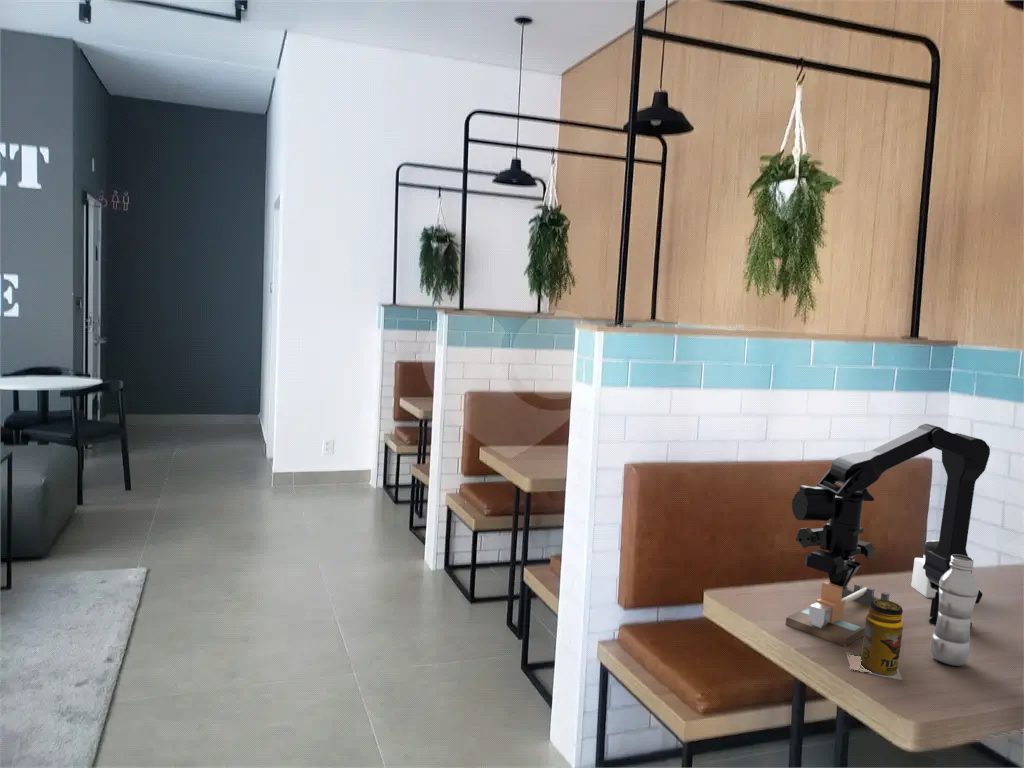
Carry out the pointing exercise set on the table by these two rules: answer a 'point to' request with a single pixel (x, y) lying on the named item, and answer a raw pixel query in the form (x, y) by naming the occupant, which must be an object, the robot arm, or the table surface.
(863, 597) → the cable comb
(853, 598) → the cord
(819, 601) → the orange stepped block
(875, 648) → the condiment
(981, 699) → the table surface
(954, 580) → the plastic bottle
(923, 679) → the table surface
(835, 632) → the cord board
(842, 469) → the robot arm
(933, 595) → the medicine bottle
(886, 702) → the table surface
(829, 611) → the block
